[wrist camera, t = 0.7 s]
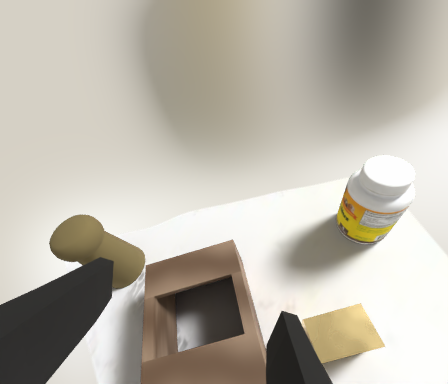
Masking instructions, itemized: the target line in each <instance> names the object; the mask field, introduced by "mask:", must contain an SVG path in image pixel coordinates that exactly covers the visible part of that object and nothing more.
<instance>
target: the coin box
mask: <svg viewBox="0 0 448 384" xmlns="http://www.w3.org/2000/svg"><path fill="white" fill-rule="evenodd" d="M230 277H232V280H233V284H234V289H235V293H236V298H237V302H238V307H239V311H240V315H241V320H242V324H243V329H244V333H245V334H243V335H239V336H235V337H232V338H228V339H225V340H221V341H217V342H214V343H210V344H207V345H203V346H200V347H196V348H192V349H189V350H185V351H182V352H178V346H177V324H176V303H175V293H178V292H182V291H185V290H189V289H192V288H195V287H199V286H202V285H206V284H209V283H213V282H216V281H220V280H223V279H226V278H230ZM141 384H266V349H265V345H264V341H263V337H262V334H261V330H260V326H259V323H258V319H257V315H256V311H255V308H254V304H253V300H252V296H251V293H250V289H249V285H248V282H247V278H246V274H245V270H244V267H243V263H242V260H241V257H240V255H239V253H238V250H237V248H236V246H235V243H234V241H233V240H230V241H227V242H223V243H220V244H217V245H213V246H210V247H206V248H203V249H200V250H196V251H193V252H190V253H186V254H183V255H180V256H176V257H173V258H170V259H166V260H163V261H160V262H156V263H153V264H149V265H146V273H145V296H144V319H143V343H142V366H141Z"/></svg>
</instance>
